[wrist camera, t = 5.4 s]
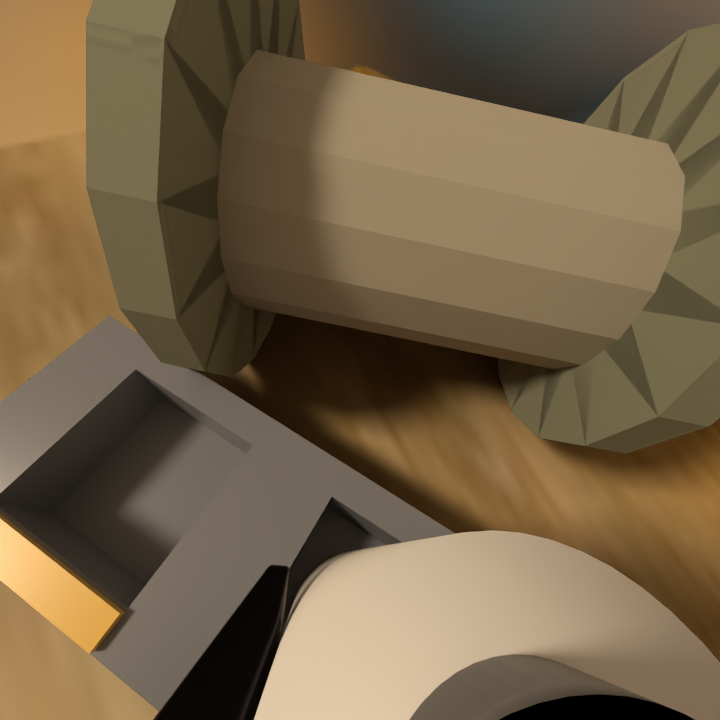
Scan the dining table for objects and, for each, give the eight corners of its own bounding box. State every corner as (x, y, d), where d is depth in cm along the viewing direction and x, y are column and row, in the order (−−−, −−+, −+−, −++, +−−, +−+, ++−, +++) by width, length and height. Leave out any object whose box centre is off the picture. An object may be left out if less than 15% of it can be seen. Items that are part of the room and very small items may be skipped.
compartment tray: (505, 591, 15) (569, 602, 11) (429, 850, 11) (489, 995, 8) (147, 361, 18) (106, 311, 14) (-8, 505, 14) (-120, 487, 11)
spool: (513, 268, 25) (731, -39, 12) (532, 484, 18) (1155, 281, 5) (285, 220, 25) (260, -156, 12) (205, 421, 17) (-119, -6, 4)
